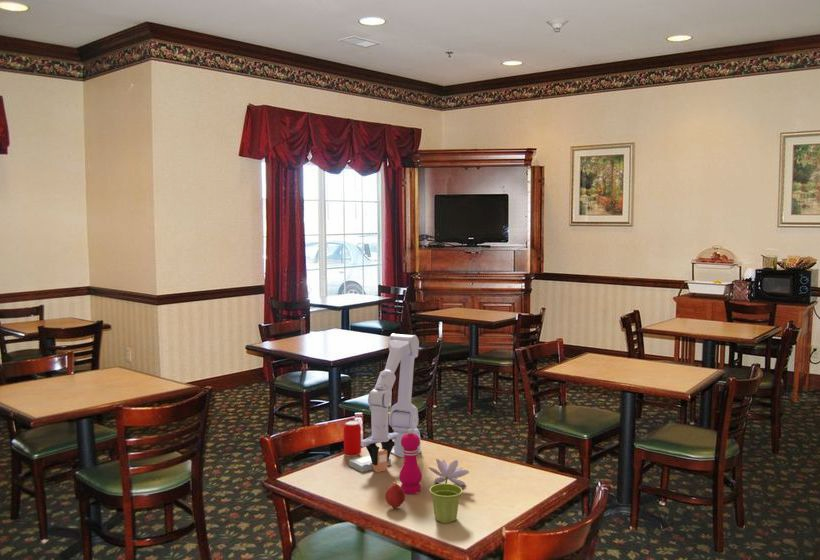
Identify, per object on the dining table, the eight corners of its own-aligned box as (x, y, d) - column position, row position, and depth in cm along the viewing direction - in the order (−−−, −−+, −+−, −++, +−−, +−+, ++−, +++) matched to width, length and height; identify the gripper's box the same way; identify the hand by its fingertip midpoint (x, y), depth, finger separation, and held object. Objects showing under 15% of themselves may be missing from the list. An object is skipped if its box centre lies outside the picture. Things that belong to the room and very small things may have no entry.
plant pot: (460, 511, 204) (460, 483, 203) (464, 525, 194) (464, 495, 194) (428, 512, 203) (428, 483, 203) (430, 526, 194) (430, 496, 193)
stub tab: (382, 467, 241) (382, 447, 240) (387, 469, 238) (387, 450, 238) (372, 470, 238) (372, 450, 238) (378, 472, 236) (377, 452, 235)
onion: (394, 502, 210) (394, 477, 210) (408, 507, 207) (408, 481, 206) (381, 508, 206) (381, 482, 205) (396, 514, 202) (396, 487, 202)
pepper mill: (422, 486, 223) (422, 425, 222) (421, 495, 216) (420, 432, 214) (400, 485, 224) (400, 425, 222) (398, 494, 217) (397, 431, 215)
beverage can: (341, 453, 256) (341, 421, 255) (357, 451, 258) (357, 419, 257) (347, 458, 250) (346, 426, 249) (363, 456, 253) (363, 423, 252)
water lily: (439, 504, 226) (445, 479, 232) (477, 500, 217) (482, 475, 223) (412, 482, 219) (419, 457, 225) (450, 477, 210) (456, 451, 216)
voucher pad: (377, 458, 250) (377, 452, 250) (390, 464, 244) (390, 458, 243) (349, 465, 243) (349, 459, 242) (362, 472, 236) (362, 466, 236)
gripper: (368, 431, 230) (369, 471, 231) (403, 423, 238) (404, 461, 239) (357, 426, 235) (357, 465, 236) (391, 418, 244) (392, 456, 245)
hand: (380, 463), depth 238 cm, fingers closed on stub tab, 4 cm apart
